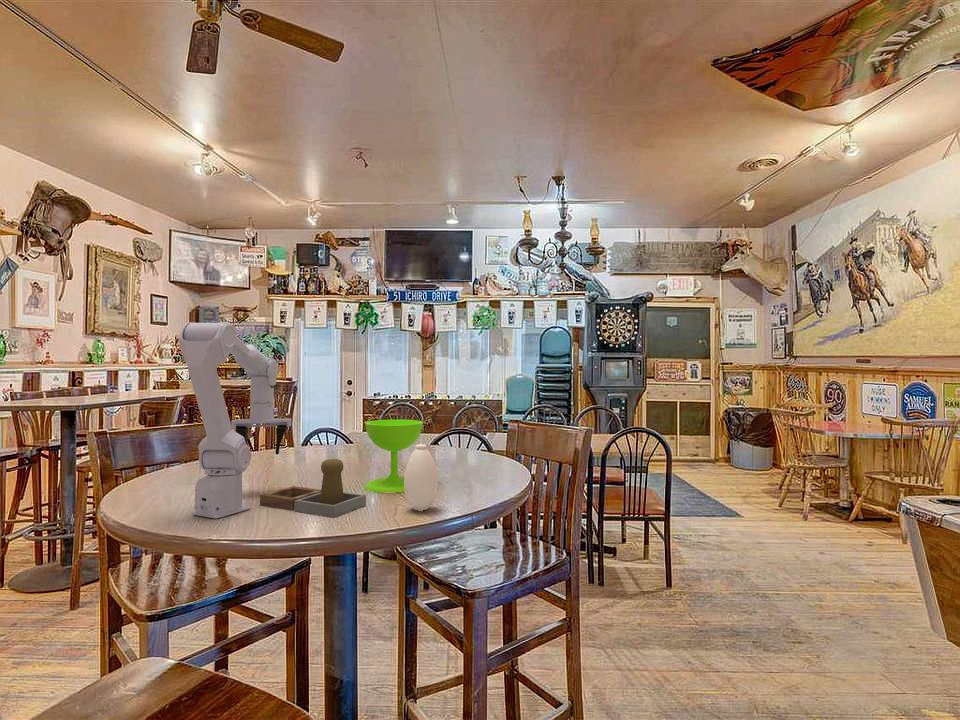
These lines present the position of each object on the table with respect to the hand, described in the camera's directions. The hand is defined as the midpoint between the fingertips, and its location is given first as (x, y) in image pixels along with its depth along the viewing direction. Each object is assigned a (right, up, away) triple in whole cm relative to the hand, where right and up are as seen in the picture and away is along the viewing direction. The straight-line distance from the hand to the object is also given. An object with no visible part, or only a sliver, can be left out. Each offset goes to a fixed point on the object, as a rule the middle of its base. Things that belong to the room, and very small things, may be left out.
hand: (261, 454), depth 141 cm
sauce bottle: (+44, -11, -15) cm, 47 cm away
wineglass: (+33, -11, +9) cm, 36 cm away
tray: (+22, -10, -14) cm, 28 cm away
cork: (+22, -10, -13) cm, 28 cm away
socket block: (+11, -10, -9) cm, 18 cm away
